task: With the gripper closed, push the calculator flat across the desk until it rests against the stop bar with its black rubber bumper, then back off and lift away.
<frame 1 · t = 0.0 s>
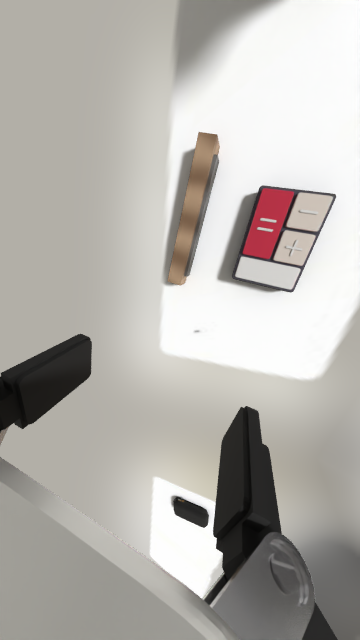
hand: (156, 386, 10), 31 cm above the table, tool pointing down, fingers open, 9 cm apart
calculator: (273, 243, 32), on the table
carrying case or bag: (191, 505, 72), on the table
stop bar: (192, 223, 35), on the table
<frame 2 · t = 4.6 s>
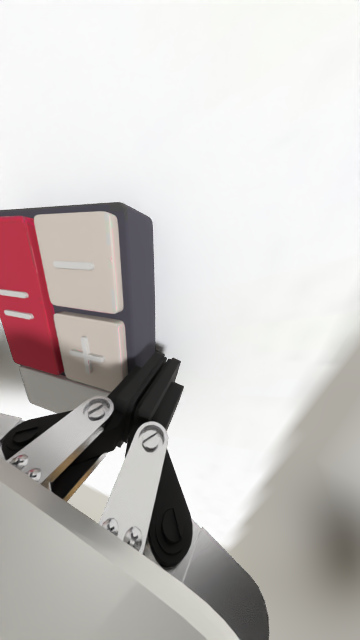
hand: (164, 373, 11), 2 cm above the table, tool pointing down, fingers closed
calculator: (100, 319, 15), on the table, touching gripper
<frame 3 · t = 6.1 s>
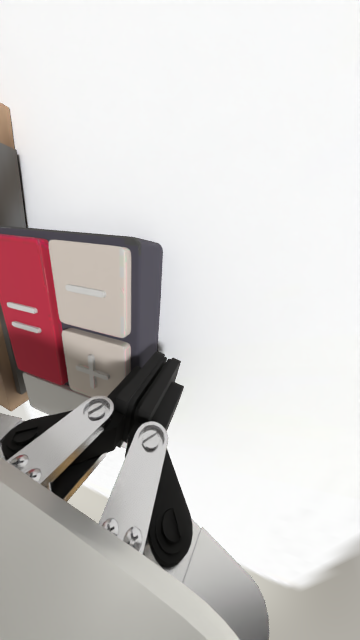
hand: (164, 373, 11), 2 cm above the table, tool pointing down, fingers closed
calculator: (103, 330, 15), on the table
stop bar: (21, 288, 16), on the table
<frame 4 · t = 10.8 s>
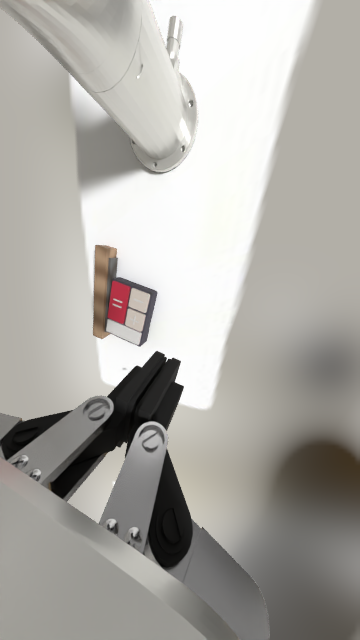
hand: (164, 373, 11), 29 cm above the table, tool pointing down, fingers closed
calculator: (134, 310, 46), on the table
stop bar: (108, 294, 46), on the table
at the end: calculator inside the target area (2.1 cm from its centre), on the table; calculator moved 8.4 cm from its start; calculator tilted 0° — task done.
